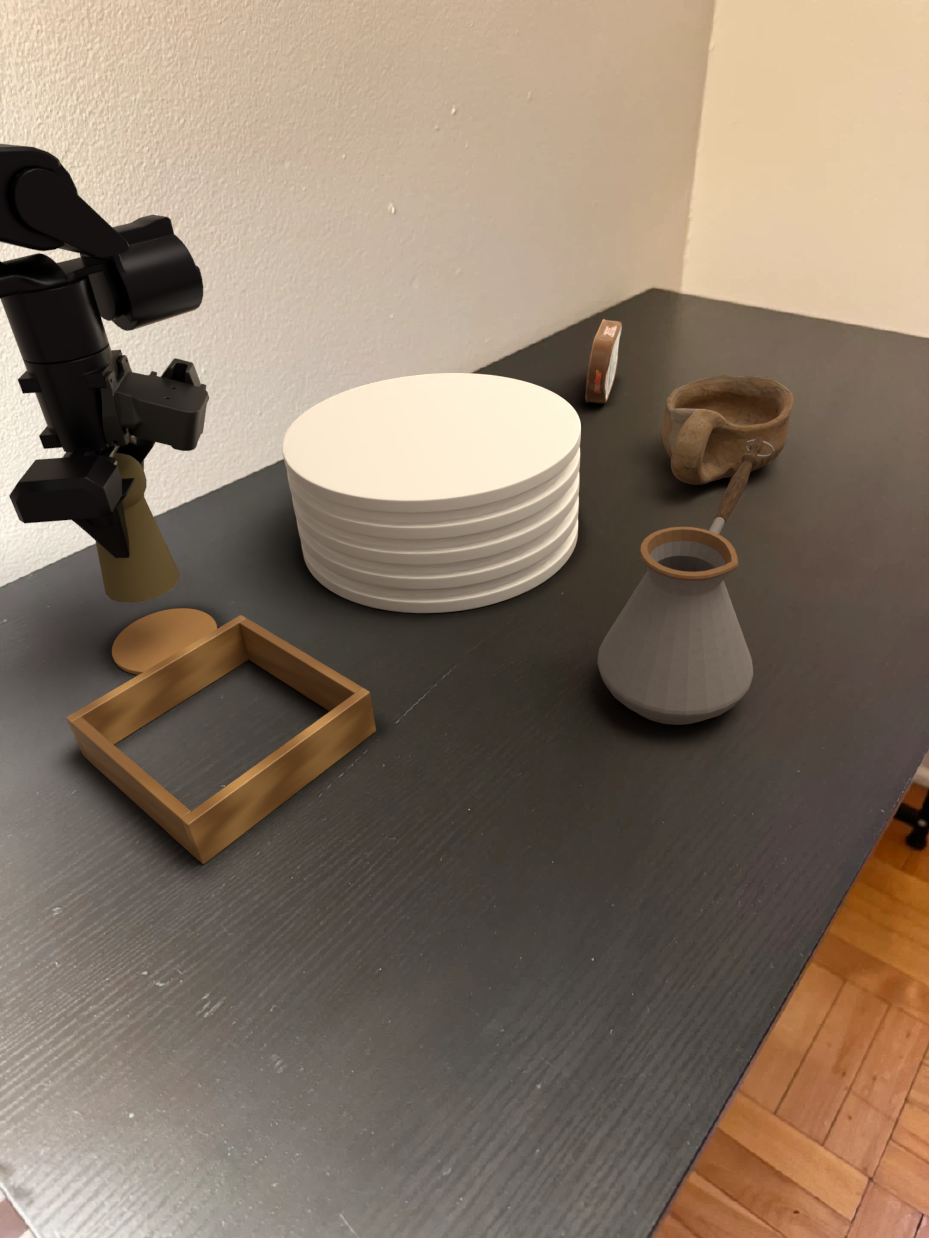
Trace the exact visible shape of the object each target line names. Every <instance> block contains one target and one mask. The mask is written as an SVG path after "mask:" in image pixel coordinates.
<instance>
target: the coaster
mask: <svg viewBox="0 0 929 1238" xmlns="http://www.w3.org/2000/svg"><path fill="white" fill-rule="evenodd" d="M218 628H219V627H218V625H217V622H216V621H215V619H214V618H213V617H212V616H211V615H210V614H208V613H206V612H205V611H202V610H199V609H194V608H187V607H186V608H183V607H181V608H179V607H177V608H170V609H163V610H160V611H156V612H153V613H150V614H148V615H146V616H143V617H141V618H138V619H137V620H135V621H133V622H132V623H130V624H128V626H127V627H125V628H124V629H122V631H120V633H119V634H118V635H117V637H116V638H115V639H114V641H113V644H112V646H111V656H112V659H113V661H114V663H115V664H116V666H118V668H119V669H121V670H123V671H124V672H127V673H129V674H133V675H136V676H138V675H139V674H141V673H143V672H145V671H146V670H148V669H150V668H151V667H153V666H155V665H156V664H158V663H160V662H162V661H163V660H165V659H167V658H168V657H170V656H172V655H173V654H175V653H177V652H179V651H180V650H182V649H184V648H185V647H187V646H189V645H191V644H192V643H194V642H196V641H197V640H199V639H201V638H202V637H204V636H206V635H208V634H209V633H211V632H213V631H214V630H216V629H218Z"/></svg>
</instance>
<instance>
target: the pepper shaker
mask: <svg viewBox="0 0 929 1238" xmlns="http://www.w3.org/2000/svg"><path fill="white" fill-rule="evenodd" d="M113 457H114V458H116V460H117V463H118V464H117V467H118V470H119V473H120V476H121V479H125V478H135V481H134V483H133V484H132V486H131V488H130V490H129V492H128V494H127V495H126V497H125V498H124V500H122V503H123V509H124V515H125V520H126V526H127V532H128V538H129V553H130V556H129V558H115V557H114V556H113V555H111V554H110V553H109V552H108V551H107V550H106V549H105V548H103V547H102V546H101V545H100V544H99V543H98V542H97V541H96V540H94V541H95V546H96V551H97V556H98V561H99V567H100V573H101V577H102V583H103V587H104V592H105V595H106V596H107V597H108V599H110V600H112V601H115V602H119V603H128V604H132V603H141V602H146V601H150V600H153V599H157V598H159V597H160V596H162V595H165V594H166V593H168V592H169V591H170V590H172V589H173V588H174V587H175V586H176V585H177V583H178V582H179V581H180V577H181V574H180V571H179V569H178V566H177V564H176V562H175V560H174V558H173V556H172V554H171V551H170V549H169V547H168V545H167V543H166V540H165V538H164V536H163V534H162V532H161V529H160V527H159V526H158V524H157V521H156V519H155V517H154V515H153V512H152V510H151V508H150V506H149V504H148V502H147V500H146V497H145V492H146V490H147V486H148V485H147V483H148V482H147V476H146V473H145V469H144V470H143V468H142V466H141V465H140V463H139V462H138V461H137V460H136V459H135V458H133V457H131V456H130V455H126V454H121V453H115V454H114V456H113Z"/></svg>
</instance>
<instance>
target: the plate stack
mask: <svg viewBox="0 0 929 1238" xmlns="http://www.w3.org/2000/svg"><path fill="white" fill-rule="evenodd" d="M581 424H582V423H581V419H580V417H579V414H578V412H577V411H576V409H575V408H574V407H573V406H572V405H571V404H570V403H569V402H568V401H567V400H566V399H564V398H563V397H561V396H560V395H559V394H557V393H555V392H553V391H551V390H550V389H547V388H545V387H543V386H540V385H537V384H534V383H531V382H528V381H524V380H520V379H516V378H513V377H507V376H501V375H500V376H499V375H495V374H494V375H493V374H483V373H470V372H469V373H468V372H442V373H441V372H440V373H425V374H424V373H423V374H415V375H406V376H399V377H393V378H388V379H383V380H379V381H374V382H371V383H370V382H369V383H366V384H364V385H360V386H356V387H353V388H349V389H347V390H344V391H342V392H339V393H336V394H334V395H331V396H329V397H328V398H325V399H324V400H321V401H320V402H318V403H316V404H314V405H312V406H311V407H310V408H308V409H306V410H305V411H304V412H302V413H301V414H300V415H299V416H297V418H296V419H294V421H293V422H292V423H291V424H290V425H289V427H288V428H287V430H286V431H285V433H284V436H283V439H282V443H281V452H282V457H283V460H284V462H283V463H284V465H285V469H286V477H287V482H288V487H289V490H290V493H291V500H292V506H293V507H292V508H293V511H294V514H295V517H296V526H297V530H298V535H299V539H300V546H301V551H302V557H303V560H304V563H305V565H306V567H307V569H308V570H309V573H311V575H312V576H313V578H314V579H316V581H317V582H319V584H321V585H322V586H323V587H324V588H326V589H327V590H329V591H330V592H332V593H333V594H336V595H337V596H339V597H341V598H343V599H345V600H347V601H350V602H353V603H356V604H359V605H362V606H365V607H369V608H373V609H378V610H383V611H388V612H389V611H390V612H396V613H408V614H441V613H443V614H444V613H452V612H461V611H468V610H473V609H478V608H482V607H487V606H492V605H495V604H498V603H501V602H503V601H507V600H510V599H513V598H515V597H518V596H520V595H522V594H525V593H527V592H529V591H531V590H533V589H535V588H536V587H538V586H539V585H541V584H543V583H544V582H546V581H548V580H549V579H550V578H551V577H553V576H554V575H555V574H556V573H557V572H558V571H560V570H561V569H562V567H563V566H564V565H566V563H567V562H568V561H569V560H570V558H571V556H572V554H573V552H574V551H575V548H576V545H577V542H578V536H579V509H580V508H579V507H580V497H579V496H580V495H579V492H580V466H581V447H580V446H581V437H582V436H581V434H582V425H581Z"/></svg>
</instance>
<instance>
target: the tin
mask: <svg viewBox="0 0 929 1238" xmlns="http://www.w3.org/2000/svg"><path fill="white" fill-rule="evenodd" d="M622 331H623V324H622V322H621V321H617V320H609V319H605V318H603V319H602V320H601V322H600V325H599V326H598V329H597V331H596V333H595V336H594V338H593V341H592V345H591V350H590V355H589V359H588V360H589V361H588V365H587V374H586V383H585V396H584V397H585V402H586V403H594V404H606V403H607V401H608V399H609V397H610V394H611V391H612V388H613V385H614V382H615V380H616V379H615V378H616V374H617V368H618V362H619V346H620V339H621V338H620V337H621V336H622Z"/></svg>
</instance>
